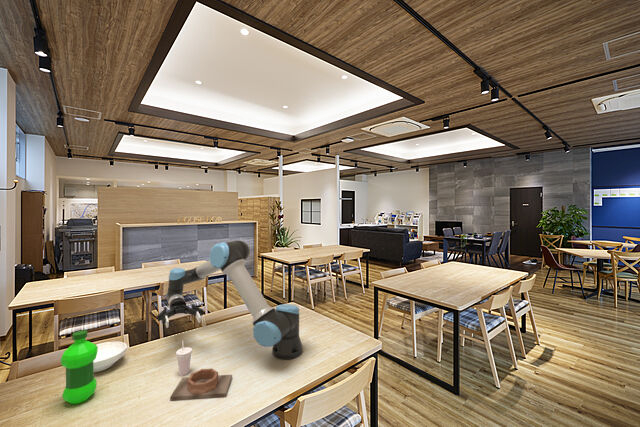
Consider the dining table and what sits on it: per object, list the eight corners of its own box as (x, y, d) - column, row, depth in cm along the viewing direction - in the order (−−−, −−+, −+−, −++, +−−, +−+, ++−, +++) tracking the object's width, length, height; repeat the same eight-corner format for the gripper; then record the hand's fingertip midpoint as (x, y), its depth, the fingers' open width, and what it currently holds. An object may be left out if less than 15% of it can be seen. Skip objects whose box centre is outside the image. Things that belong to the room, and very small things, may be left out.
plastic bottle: (73, 412, 98) (73, 340, 97) (55, 404, 101) (54, 336, 101) (104, 394, 107) (103, 329, 107) (86, 388, 111) (86, 325, 111)
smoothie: (179, 369, 124) (179, 337, 124) (194, 368, 125) (194, 337, 125) (173, 377, 118) (173, 344, 118) (189, 376, 119) (189, 344, 118)
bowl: (64, 385, 112) (64, 368, 112) (79, 362, 130) (79, 346, 130) (123, 372, 121) (123, 356, 121) (129, 352, 139) (129, 338, 139)
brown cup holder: (232, 378, 118) (232, 366, 118) (225, 397, 106) (225, 383, 106) (182, 381, 116) (182, 369, 115) (170, 400, 104) (170, 387, 104)
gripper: (201, 308, 153) (211, 325, 136) (148, 314, 139) (152, 335, 122) (203, 294, 153) (213, 310, 135) (150, 299, 138) (153, 318, 121)
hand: (184, 322), depth 128 cm, fingers open, 13 cm apart
